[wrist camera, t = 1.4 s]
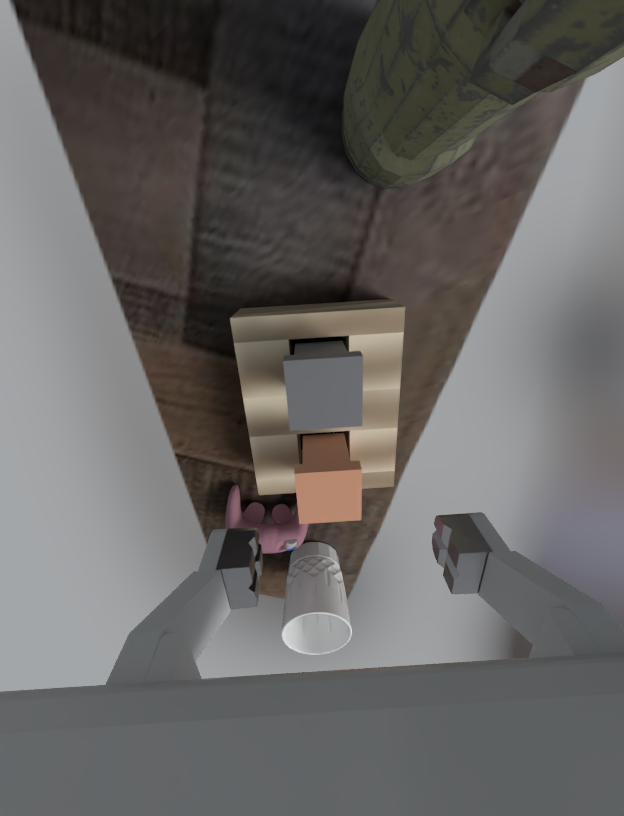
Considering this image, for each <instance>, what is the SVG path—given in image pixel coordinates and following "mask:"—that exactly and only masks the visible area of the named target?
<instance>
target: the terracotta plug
mask: <svg viewBox="0 0 624 816" xmlns="http://www.w3.org/2000/svg"><path fill="white" fill-rule="evenodd" d="M294 475H295V485H296V495H297V505H298V515H299V524H308V523H324V522H340V521H355V520H361V500H362V468H361V465H360V461H359V460H358V461H350V457H349V452H348V448H347V444H346V440H345V435H344V433H336V434H320V435H305V436H303V464H295V470H294Z"/></svg>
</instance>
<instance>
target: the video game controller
mask: <svg viewBox="0 0 624 816" xmlns="http://www.w3.org/2000/svg"><path fill="white" fill-rule="evenodd" d="M264 513H265V509H264V507H263V505H262V504H260V503H257V502H254V503H251V504H250V505H249V506H248V507H247V509H246V510H245V511H244V513H242V511H241V507H240V492H239V487H238V485H233V487H232V488H231V490H230V493H229V497H228V502H227V508H226V524H225V529H229V528H255V527H257V528H258V530H259V535H260V537H259V543H260V544H261V546H262V553H279V552H284V551H290V550H293V549H296V548H298V547H299V546H301V544H302V543H303V541H304V539H305V537H306V533H307V529H308V524H309V523H308V524H299V515H298V505H297V507H296V512H295V515H294V516H293V515H292V514H291V512H290V509H289V508H288V506H287V505H284V504H279V505H276V506H275V507H274V508H273V510H272V519H273V522H274V523H275V524H259V523H260V522H261V521H262V519H263V517H264Z"/></svg>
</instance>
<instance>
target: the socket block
mask: <svg viewBox="0 0 624 816" xmlns="http://www.w3.org/2000/svg"><path fill="white" fill-rule="evenodd" d="M404 319H405V307H404V306H402V305H400V304H398V303H397V302H395V301H393V300H391V299H383V300H367V301H352V302H336V303H320V304H305V305H289V306H273V307H258V308H242V309H240V310H238V311H237V312H236V313H235V314H234V315H233V316H232V317H231V318H230V323H231V329H232V335H233V341H234V347H235V353H236V359H237V365H238V371H239V377H240V383H241V389H242V395H243V402H244V408H245V414H246V420H247V426H248V432H249V438H250V444H251V450H252V456H253V462H254V468H255V475H256V481H257V487H258V493H259V495H270V494H286V493H296V485H295V475H294V470H295V464H303V450H301V444H300V434H306V433H322V432H338V431H344V435H345V440H346V444H347V448H348V452H349V457H350V461H358V460H359V461H360V465H361V468H362V489H364V488H380V487H394V472H395V457H396V441H397V426H398V411H399V395H400V380H401V365H402V350H403V334H404ZM336 336H342V339H343V343H344V345H345V347H346V349H347V352H351V351H361V353H362V355H363V412H362V426H357V427H341V428H326V429H310V430H294V431H290V425H289V415H288V405H287V395H286V385H285V375H284V365H283V359H284V356H288V355H293V351H292V340H291V339H305V338H320V337H336Z"/></svg>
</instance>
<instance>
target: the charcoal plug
mask: <svg viewBox="0 0 624 816" xmlns="http://www.w3.org/2000/svg"><path fill="white" fill-rule="evenodd" d="M283 365H284V375H285V385H286V395H287V405H288V415H289V425H290V431H294V430H310V429H326V428H341V427H357V426H362V412H363V355H362V353H361V351H351V352H347V349H346V347H345V345H344V343H343V341H328V342H312V343H297V344H295V351H294V355H288V356H284V359H283Z"/></svg>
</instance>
